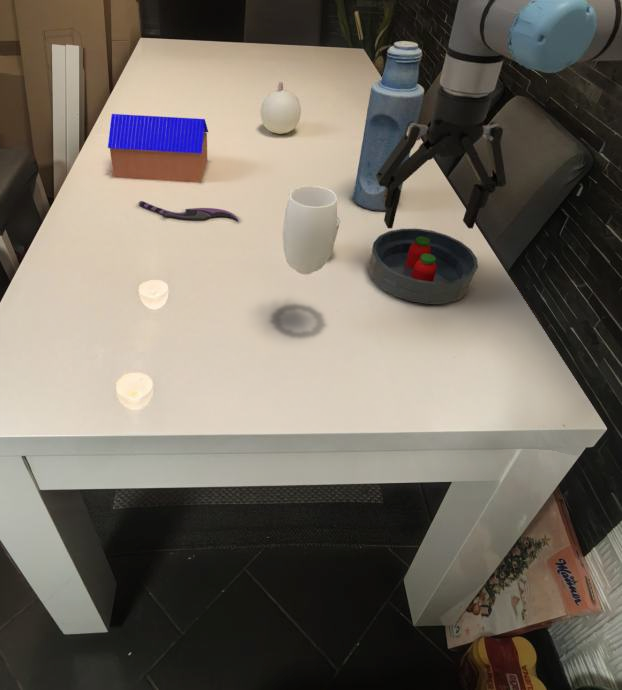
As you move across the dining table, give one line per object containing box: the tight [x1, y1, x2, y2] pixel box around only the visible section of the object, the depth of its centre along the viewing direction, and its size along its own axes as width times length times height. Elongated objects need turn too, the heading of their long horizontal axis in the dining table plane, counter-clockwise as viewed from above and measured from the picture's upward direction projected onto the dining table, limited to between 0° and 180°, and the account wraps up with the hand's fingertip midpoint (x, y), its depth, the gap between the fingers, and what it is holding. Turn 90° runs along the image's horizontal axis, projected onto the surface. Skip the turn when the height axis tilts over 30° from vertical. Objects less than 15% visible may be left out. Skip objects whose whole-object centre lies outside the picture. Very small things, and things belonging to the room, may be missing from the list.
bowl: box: [367, 228, 479, 305], centre depth 93 cm, size 17×17×4 cm
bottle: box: [352, 40, 425, 212], centre depth 106 cm, size 10×10×30 cm
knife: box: [138, 200, 239, 222], centre depth 109 cm, size 21×1×5 cm
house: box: [107, 113, 209, 183], centre depth 120 cm, size 12×20×12 cm, turn 86°
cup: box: [282, 185, 338, 275], centre depth 78 cm, size 7×7×21 cm
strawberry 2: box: [411, 254, 437, 282], centre depth 91 cm, size 4×4×5 cm
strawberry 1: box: [406, 236, 431, 269], centre depth 95 cm, size 4×4×5 cm
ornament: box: [260, 81, 302, 135], centre depth 140 cm, size 10×10×12 cm
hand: (428, 224), depth 91 cm, fingers open, 13 cm apart
